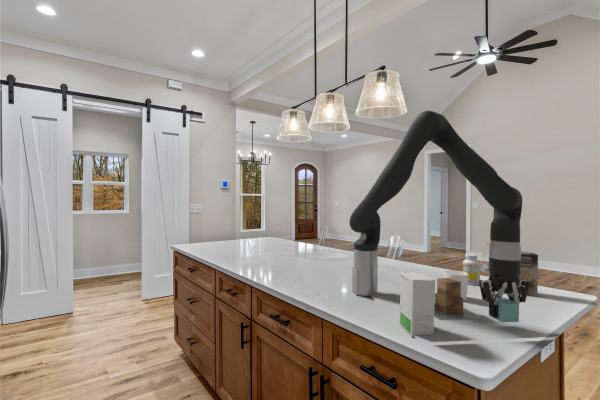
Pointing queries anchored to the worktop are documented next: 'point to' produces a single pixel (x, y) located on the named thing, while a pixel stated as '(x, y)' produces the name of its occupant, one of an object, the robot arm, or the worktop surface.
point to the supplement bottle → (472, 269)
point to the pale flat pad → (456, 315)
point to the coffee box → (530, 271)
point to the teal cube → (507, 311)
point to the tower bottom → (448, 305)
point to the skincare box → (417, 303)
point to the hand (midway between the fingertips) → (503, 316)
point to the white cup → (459, 277)
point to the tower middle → (449, 288)
